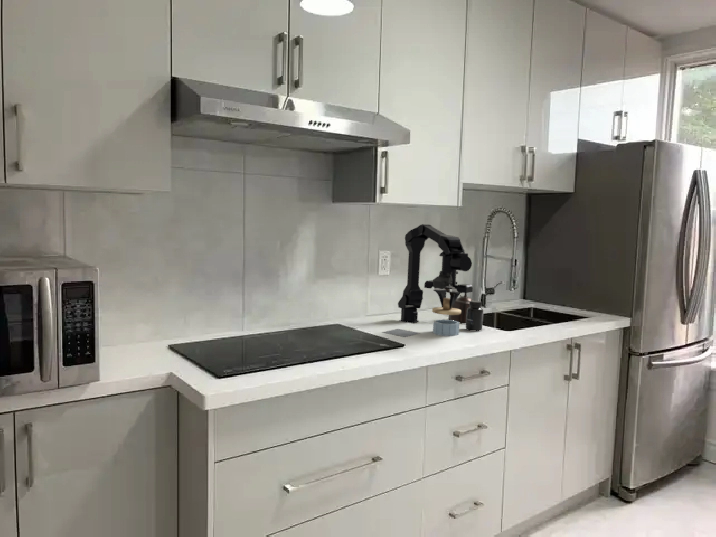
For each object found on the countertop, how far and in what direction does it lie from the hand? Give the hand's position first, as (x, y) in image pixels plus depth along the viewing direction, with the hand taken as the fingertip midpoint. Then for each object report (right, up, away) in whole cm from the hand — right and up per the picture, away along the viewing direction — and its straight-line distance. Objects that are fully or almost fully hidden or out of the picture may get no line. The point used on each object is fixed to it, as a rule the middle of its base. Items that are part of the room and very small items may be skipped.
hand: (446, 308), depth 216 cm
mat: (-18, -10, -2) cm, 21 cm away
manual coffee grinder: (+11, -8, +32) cm, 35 cm away
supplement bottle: (+13, -10, +13) cm, 21 cm away
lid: (0, -2, 0) cm, 2 cm away
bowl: (0, -10, +1) cm, 11 cm away
